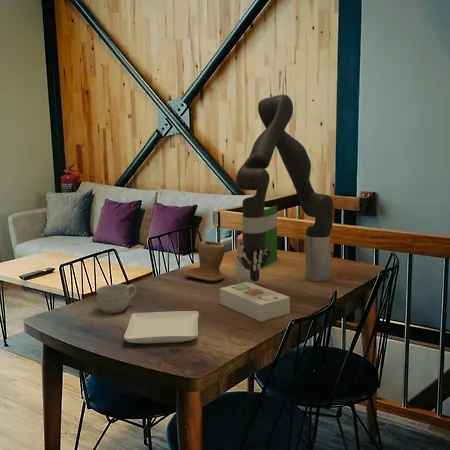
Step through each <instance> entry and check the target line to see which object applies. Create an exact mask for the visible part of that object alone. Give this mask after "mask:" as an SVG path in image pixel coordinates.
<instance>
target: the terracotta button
mask: <svg viewBox="0 0 450 450" xmlns="http://www.w3.org/2000/svg"><path fill="white" fill-rule="evenodd" d="M247 294H249V295H251V296H255V295H259V294H261V291H260V290H259V289H249V290H247Z"/></svg>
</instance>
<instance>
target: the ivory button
mask: <svg viewBox="0 0 450 450" xmlns="http://www.w3.org/2000/svg"><path fill="white" fill-rule="evenodd" d="M261 300H264V301H271V300H274V295H272V294H263V295H261Z"/></svg>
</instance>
